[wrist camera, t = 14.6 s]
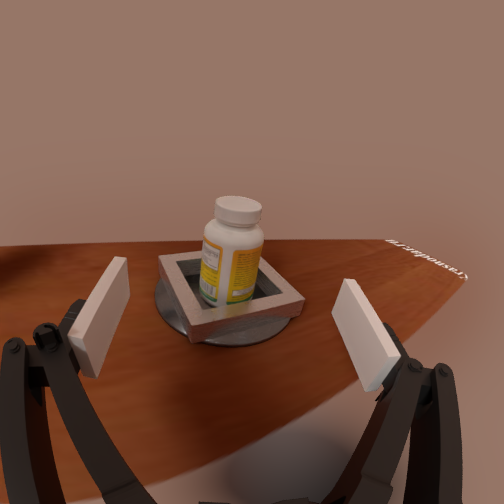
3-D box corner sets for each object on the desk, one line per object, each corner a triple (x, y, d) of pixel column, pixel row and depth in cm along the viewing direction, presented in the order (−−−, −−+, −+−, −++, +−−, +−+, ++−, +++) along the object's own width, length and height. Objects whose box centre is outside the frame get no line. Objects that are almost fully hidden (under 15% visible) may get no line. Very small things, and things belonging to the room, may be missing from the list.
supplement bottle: (192, 304, 26) (198, 206, 21) (206, 275, 31) (215, 189, 26) (249, 316, 26) (267, 218, 21) (255, 285, 30) (271, 199, 26)
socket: (143, 269, 30) (142, 250, 29) (251, 255, 37) (253, 239, 36) (179, 364, 20) (178, 343, 19) (319, 323, 27) (326, 304, 26)
